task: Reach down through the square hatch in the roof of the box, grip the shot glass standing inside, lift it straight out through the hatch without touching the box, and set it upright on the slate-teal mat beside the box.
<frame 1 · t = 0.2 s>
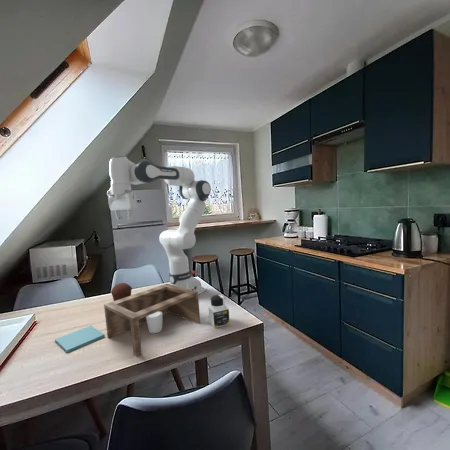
hand: (124, 219, 121), 47 cm above the table, tool pointing down, fingers open, 8 cm apart
muffin: (122, 301, 146), on the table
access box: (155, 329, 109), on the table
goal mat: (80, 339, 104), on the table
shot glass: (155, 330, 109), on the table
medicine bottle: (219, 323, 111), on the table
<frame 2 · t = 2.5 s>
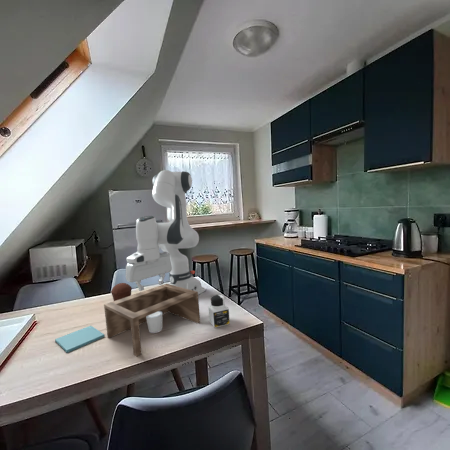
hand: (151, 287, 107), 19 cm above the table, tool pointing down, fingers open, 8 cm apart
nothing on the table moved.
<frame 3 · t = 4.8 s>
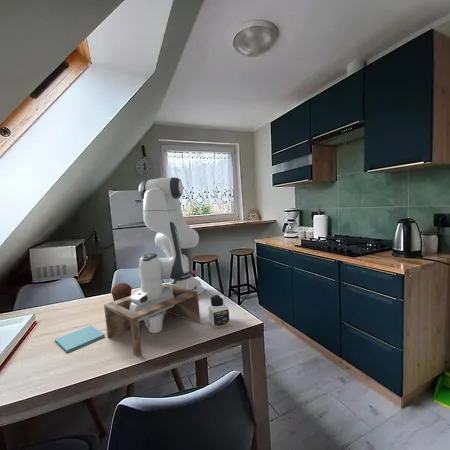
hand: (155, 323, 108), 3 cm above the table, tool pointing down, fingers closed on shot glass, 5 cm apart
shot glass: (155, 330, 109), on the table, touching gripper
everything else where it was.
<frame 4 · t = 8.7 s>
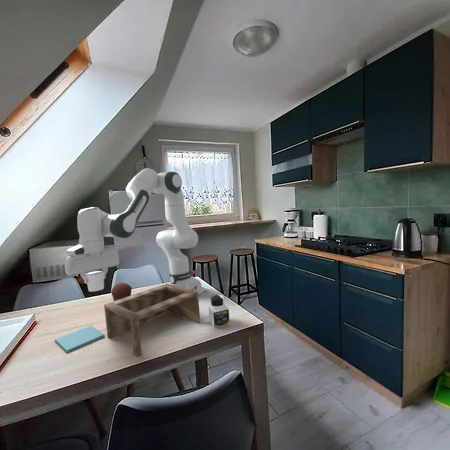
hand: (95, 280, 103), 24 cm above the table, tool pointing down, fingers closed on shot glass, 5 cm apart
shot glass: (96, 289, 103), point 20 cm above the table, touching gripper
everything else where it was.
when the fingers open (5 cm above the table, at t = 13.0 s): shot glass stays where it is, resting on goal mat.
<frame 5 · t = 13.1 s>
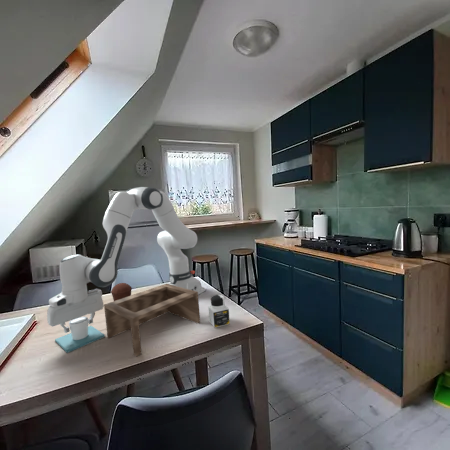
hand: (79, 327, 104), 5 cm above the table, tool pointing down, fingers open, 8 cm apart
shot glass: (80, 336, 105), point 1 cm above the table, touching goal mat
everything else where it was.
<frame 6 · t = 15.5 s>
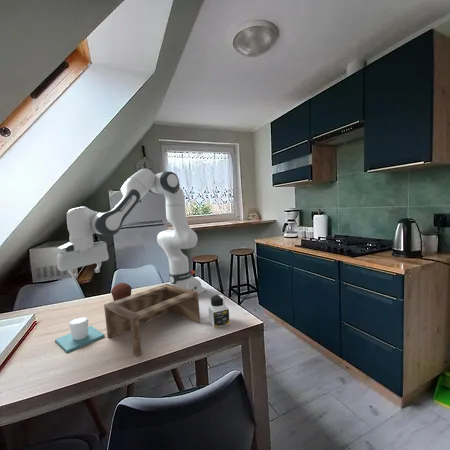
hand: (86, 275, 111), 25 cm above the table, tool pointing down, fingers open, 8 cm apart
nothing on the table moved.
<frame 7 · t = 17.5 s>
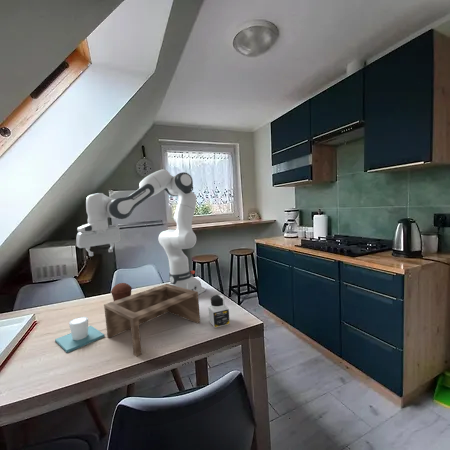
hand: (101, 254, 125), 31 cm above the table, tool pointing down, fingers open, 8 cm apart
nothing on the table moved.
at the end: shot glass inside the target area on the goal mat (0.2 cm from its centre), point 0.8 cm above the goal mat's base; shot glass tilted 0°; the gripper is holding nothing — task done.
